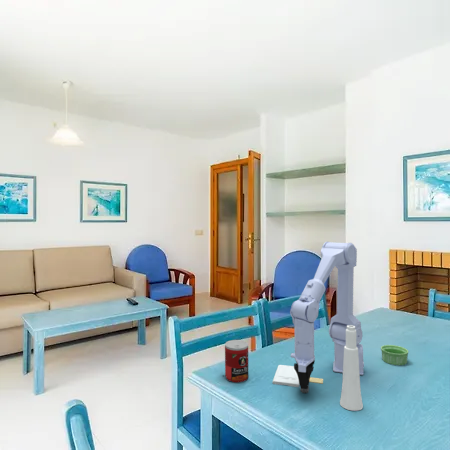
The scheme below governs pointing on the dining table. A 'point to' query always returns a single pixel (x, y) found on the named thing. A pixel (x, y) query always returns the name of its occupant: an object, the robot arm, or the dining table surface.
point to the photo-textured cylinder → (305, 390)
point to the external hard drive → (286, 376)
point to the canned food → (236, 360)
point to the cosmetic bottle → (351, 373)
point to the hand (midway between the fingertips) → (304, 386)
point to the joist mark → (316, 380)
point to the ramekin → (394, 354)
